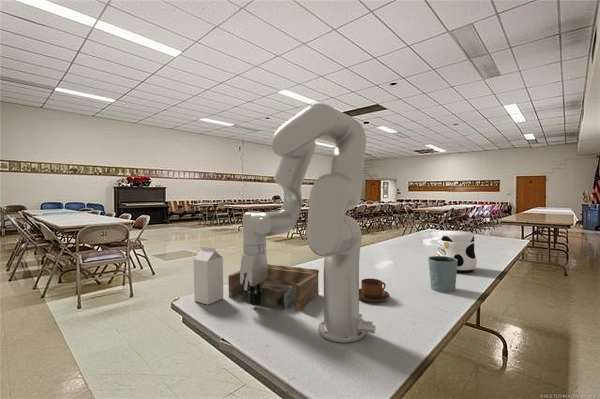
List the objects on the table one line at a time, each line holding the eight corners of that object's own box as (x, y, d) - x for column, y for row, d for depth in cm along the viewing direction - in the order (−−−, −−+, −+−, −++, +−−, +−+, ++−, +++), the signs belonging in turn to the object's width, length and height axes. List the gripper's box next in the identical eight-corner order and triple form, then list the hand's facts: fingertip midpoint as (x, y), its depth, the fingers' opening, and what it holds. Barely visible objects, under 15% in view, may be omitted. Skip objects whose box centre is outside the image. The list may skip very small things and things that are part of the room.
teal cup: (460, 289, 112) (460, 258, 112) (453, 296, 105) (453, 263, 105) (433, 283, 119) (433, 254, 119) (424, 289, 112) (424, 258, 112)
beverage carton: (284, 311, 94) (284, 291, 93) (240, 300, 103) (240, 282, 103) (297, 303, 100) (296, 284, 100) (254, 294, 110) (254, 277, 110)
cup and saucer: (366, 290, 112) (366, 274, 112) (395, 298, 104) (395, 281, 103) (348, 298, 104) (348, 281, 104) (378, 308, 95) (377, 289, 95)
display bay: (319, 294, 108) (318, 269, 108) (300, 310, 93) (299, 281, 93) (254, 284, 121) (254, 262, 121) (228, 297, 106) (228, 272, 106)
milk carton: (207, 305, 98) (206, 249, 98) (194, 301, 102) (193, 247, 102) (223, 298, 104) (222, 246, 104) (210, 295, 108) (209, 244, 108)
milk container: (428, 267, 145) (428, 231, 145) (452, 263, 152) (452, 229, 152) (460, 276, 129) (460, 236, 129) (484, 271, 137) (485, 233, 136)
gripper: (258, 244, 104) (258, 295, 105) (231, 252, 91) (231, 310, 91) (276, 246, 101) (276, 298, 101) (250, 254, 87) (251, 314, 88)
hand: (255, 303), depth 96 cm, fingers closed
